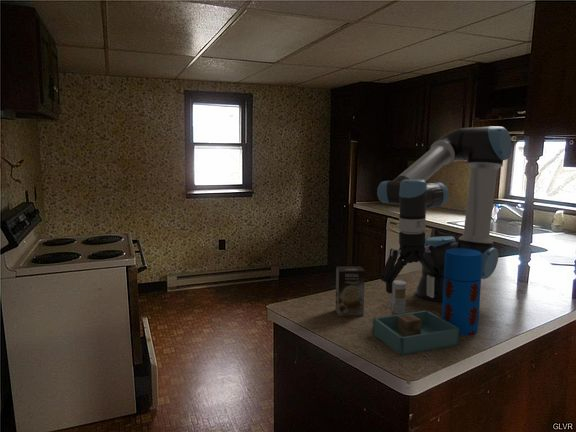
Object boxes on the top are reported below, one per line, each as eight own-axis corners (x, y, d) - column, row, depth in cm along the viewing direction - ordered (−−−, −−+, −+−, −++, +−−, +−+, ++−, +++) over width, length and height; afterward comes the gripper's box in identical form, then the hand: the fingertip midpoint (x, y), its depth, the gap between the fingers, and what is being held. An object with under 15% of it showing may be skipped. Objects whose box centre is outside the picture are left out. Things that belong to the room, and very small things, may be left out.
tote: (426, 324, 140) (427, 310, 139) (459, 345, 125) (460, 328, 124) (373, 333, 134) (373, 318, 133) (400, 355, 119) (401, 338, 118)
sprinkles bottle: (394, 317, 147) (395, 279, 145) (407, 320, 144) (408, 281, 142) (388, 321, 143) (389, 282, 141) (402, 324, 140) (403, 284, 138)
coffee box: (337, 316, 148) (338, 271, 145) (335, 309, 154) (335, 266, 152) (364, 315, 148) (365, 270, 146) (360, 309, 154) (361, 265, 152)
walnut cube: (411, 329, 135) (411, 314, 134) (420, 335, 130) (421, 319, 130) (397, 331, 134) (397, 316, 133) (406, 337, 129) (406, 322, 128)
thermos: (459, 338, 130) (463, 257, 126) (434, 325, 139) (437, 250, 136) (485, 331, 134) (490, 253, 130) (459, 319, 144) (463, 246, 140)
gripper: (381, 238, 120) (381, 310, 124) (455, 229, 127) (453, 297, 131) (368, 233, 127) (368, 301, 131) (439, 225, 134) (437, 290, 138)
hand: (411, 299), depth 131 cm, fingers open, 13 cm apart
